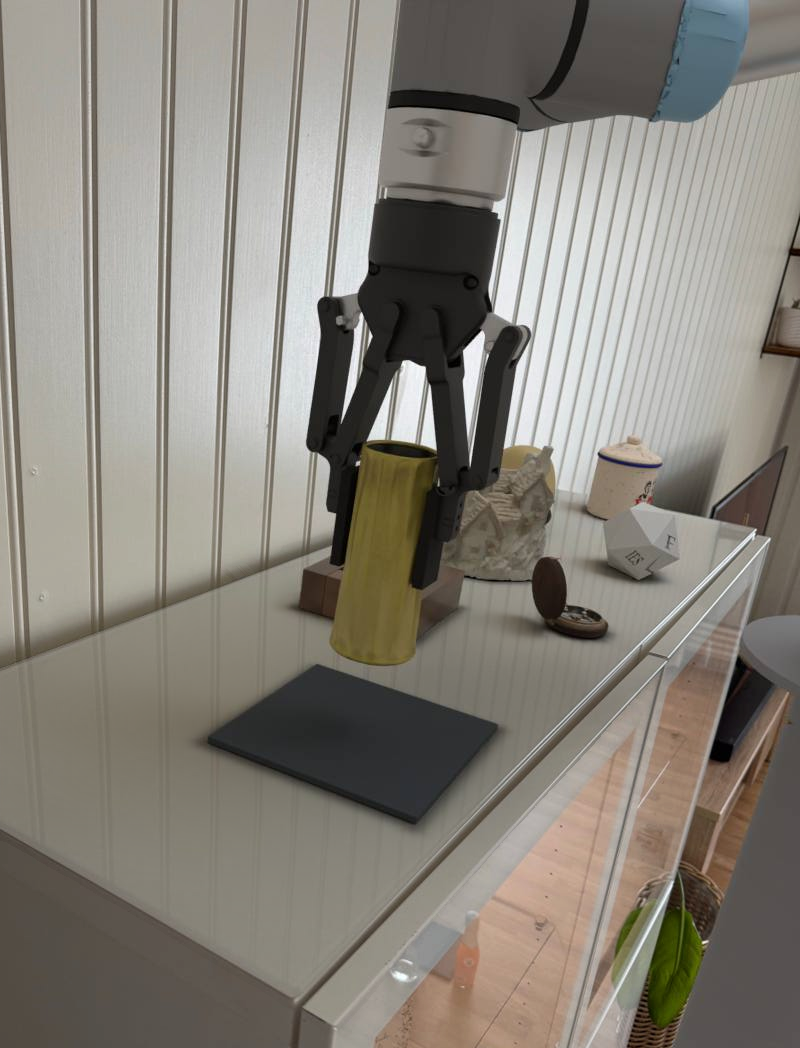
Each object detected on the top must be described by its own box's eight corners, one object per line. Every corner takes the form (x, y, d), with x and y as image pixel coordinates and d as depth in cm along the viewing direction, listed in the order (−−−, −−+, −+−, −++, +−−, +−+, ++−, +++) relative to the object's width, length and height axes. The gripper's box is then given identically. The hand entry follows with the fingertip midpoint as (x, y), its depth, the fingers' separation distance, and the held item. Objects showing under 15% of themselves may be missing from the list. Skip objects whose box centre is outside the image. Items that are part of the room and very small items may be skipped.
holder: (458, 607, 98) (465, 570, 96) (411, 642, 88) (418, 602, 86) (353, 577, 103) (358, 541, 101) (298, 607, 93) (303, 568, 91)
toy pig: (475, 544, 132) (491, 509, 122) (477, 467, 136) (492, 427, 126) (546, 550, 132) (568, 516, 122) (546, 472, 136) (567, 433, 126)
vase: (416, 672, 65) (452, 465, 59) (326, 660, 65) (354, 452, 59) (413, 637, 71) (445, 445, 65) (330, 626, 71) (356, 433, 65)
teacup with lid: (643, 528, 136) (664, 447, 131) (579, 514, 139) (597, 434, 135) (653, 511, 146) (673, 435, 142) (593, 499, 149) (611, 424, 145)
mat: (497, 729, 74) (498, 724, 74) (415, 824, 61) (417, 817, 61) (316, 668, 80) (317, 663, 80) (207, 742, 67) (207, 736, 67)
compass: (618, 640, 95) (636, 570, 92) (545, 639, 93) (561, 567, 90) (581, 609, 102) (596, 543, 99) (512, 607, 100) (526, 540, 97)
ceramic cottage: (536, 543, 122) (554, 425, 115) (556, 593, 107) (578, 460, 101) (413, 535, 122) (424, 417, 116) (416, 583, 108) (429, 451, 101)
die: (597, 583, 113) (666, 531, 107) (574, 527, 118) (639, 474, 112) (642, 603, 118) (710, 554, 111) (618, 548, 123) (682, 499, 117)
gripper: (272, 180, 57) (239, 550, 66) (576, 212, 50) (492, 625, 59) (331, 191, 63) (293, 529, 72) (609, 222, 56) (528, 593, 65)
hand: (383, 571), depth 66 cm, fingers closed on vase, 5 cm apart
